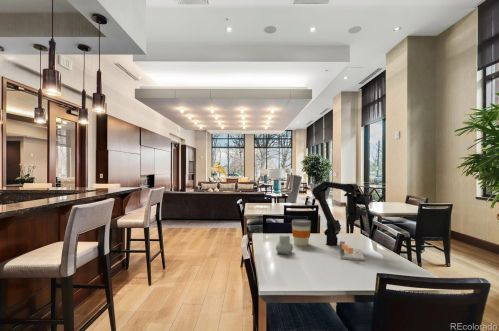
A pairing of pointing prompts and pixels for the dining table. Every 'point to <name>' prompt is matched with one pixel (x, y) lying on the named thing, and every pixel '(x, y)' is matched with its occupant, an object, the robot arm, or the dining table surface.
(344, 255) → the chassis board
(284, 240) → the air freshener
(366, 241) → the dining table surface
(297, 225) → the reusable coffee cup
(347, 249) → the cable arm
